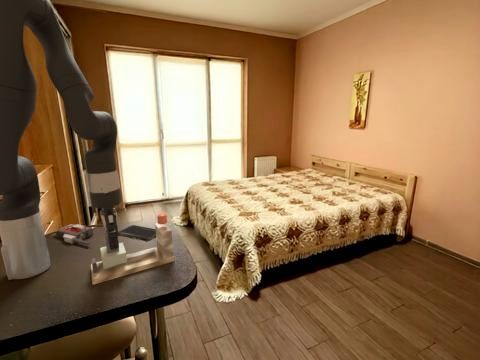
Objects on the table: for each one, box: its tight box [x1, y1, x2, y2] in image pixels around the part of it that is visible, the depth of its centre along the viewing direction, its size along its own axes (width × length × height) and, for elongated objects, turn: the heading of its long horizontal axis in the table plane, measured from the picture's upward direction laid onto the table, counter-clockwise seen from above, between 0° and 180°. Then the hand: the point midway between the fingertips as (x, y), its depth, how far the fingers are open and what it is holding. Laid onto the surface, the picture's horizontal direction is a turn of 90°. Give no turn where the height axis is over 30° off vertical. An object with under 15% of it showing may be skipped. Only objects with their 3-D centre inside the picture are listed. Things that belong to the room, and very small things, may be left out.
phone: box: [118, 224, 156, 242], centre depth 98 cm, size 8×1×15 cm
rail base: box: [90, 222, 175, 285], centre depth 76 cm, size 22×9×10 cm, turn 121°
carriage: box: [100, 231, 127, 268], centre depth 73 cm, size 6×7×8 cm
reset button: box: [156, 213, 168, 224], centre depth 79 cm, size 3×3×2 cm
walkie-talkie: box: [55, 223, 94, 246], centre depth 95 cm, size 9×4×20 cm
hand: (112, 242), depth 73 cm, fingers open, 8 cm apart
